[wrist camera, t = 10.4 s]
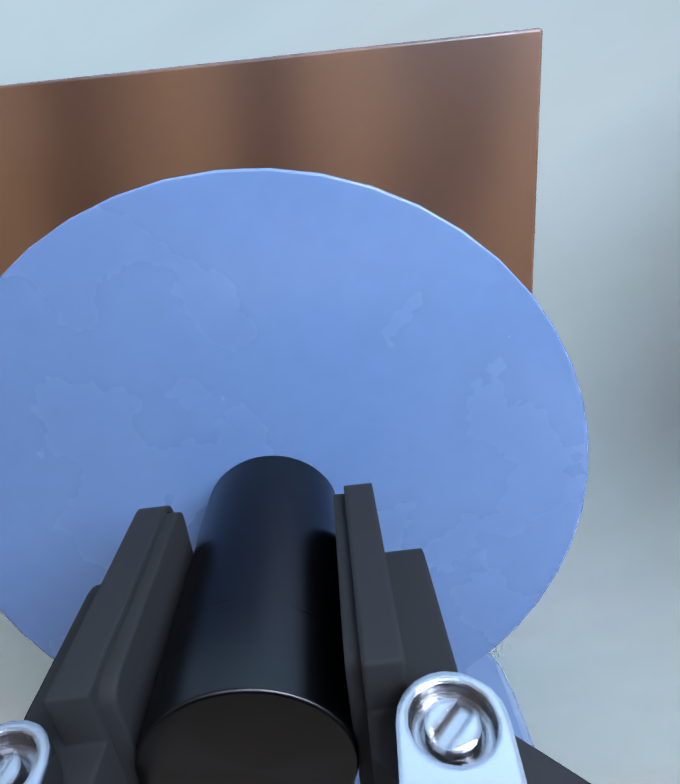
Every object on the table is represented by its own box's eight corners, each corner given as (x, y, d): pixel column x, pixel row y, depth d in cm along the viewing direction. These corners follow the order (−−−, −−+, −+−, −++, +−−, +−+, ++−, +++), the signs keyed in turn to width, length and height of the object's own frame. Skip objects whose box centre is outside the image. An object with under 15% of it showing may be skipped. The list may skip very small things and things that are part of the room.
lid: (588, 129, 10) (996, 86, 4) (550, 657, 16) (703, 976, 10) (-144, 208, 10) (-820, 283, 4) (72, 713, 16) (-82, 1071, 10)
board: (517, 41, 16) (543, 26, 14) (504, 557, 24) (521, 590, 22) (-27, 100, 16) (-70, 92, 14) (133, 598, 23) (118, 636, 22)
